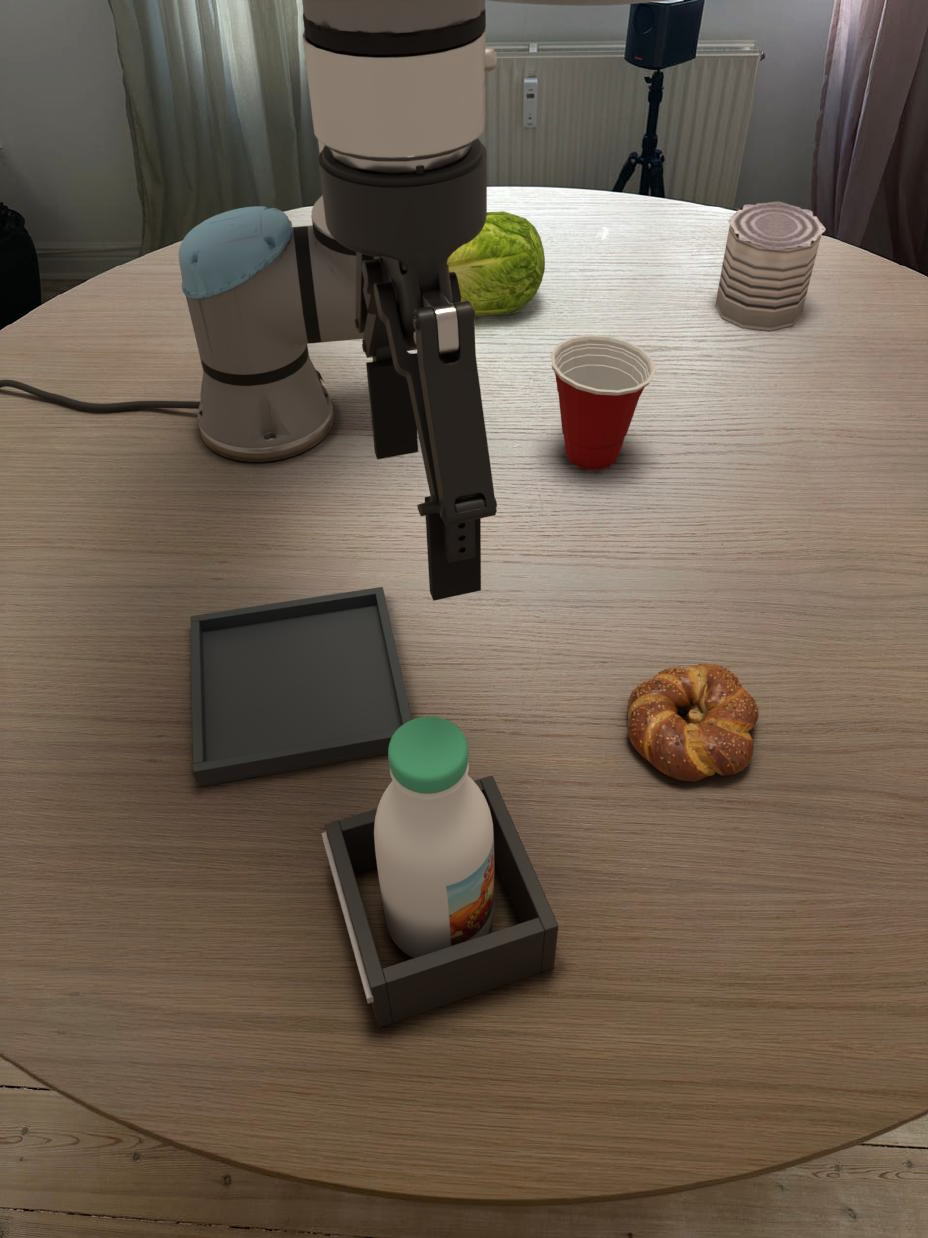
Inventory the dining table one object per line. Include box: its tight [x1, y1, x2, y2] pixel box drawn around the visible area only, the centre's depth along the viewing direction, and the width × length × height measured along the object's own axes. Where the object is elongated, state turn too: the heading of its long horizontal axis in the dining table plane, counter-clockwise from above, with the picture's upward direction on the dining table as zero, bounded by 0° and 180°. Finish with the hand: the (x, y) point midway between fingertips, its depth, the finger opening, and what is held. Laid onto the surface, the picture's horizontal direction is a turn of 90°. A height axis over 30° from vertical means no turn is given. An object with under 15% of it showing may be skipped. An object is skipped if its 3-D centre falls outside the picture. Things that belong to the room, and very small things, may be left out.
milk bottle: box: [374, 716, 495, 959], centre depth 63 cm, size 8×8×20 cm
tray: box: [189, 586, 413, 787], centre depth 85 cm, size 18×18×2 cm
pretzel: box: [626, 663, 760, 782], centre depth 80 cm, size 12×11×4 cm
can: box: [714, 200, 827, 332], centre depth 127 cm, size 11×11×12 cm
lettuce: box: [447, 210, 546, 317], centre depth 129 cm, size 13×22×14 cm
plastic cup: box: [550, 334, 657, 471], centre depth 104 cm, size 11×11×12 cm
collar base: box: [321, 775, 559, 1028], centre depth 68 cm, size 13×13×6 cm
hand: (423, 516), depth 58 cm, fingers open, 13 cm apart
